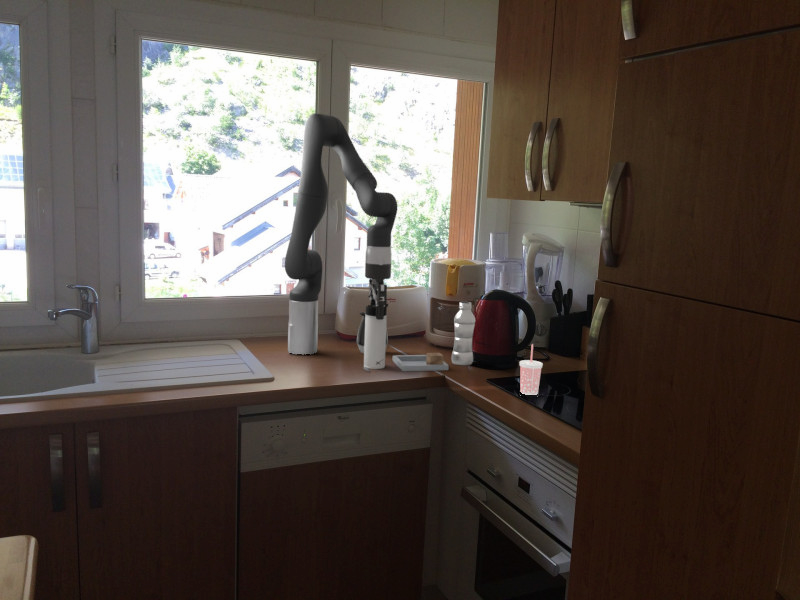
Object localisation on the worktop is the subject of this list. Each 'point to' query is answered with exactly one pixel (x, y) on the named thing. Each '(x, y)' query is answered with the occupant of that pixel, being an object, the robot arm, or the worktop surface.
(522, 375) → the beverage cup
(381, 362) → the travel mug
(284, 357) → the worktop surface
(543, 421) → the worktop surface
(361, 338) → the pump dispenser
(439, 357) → the walnut block
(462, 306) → the plastic bottle
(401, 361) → the tray
